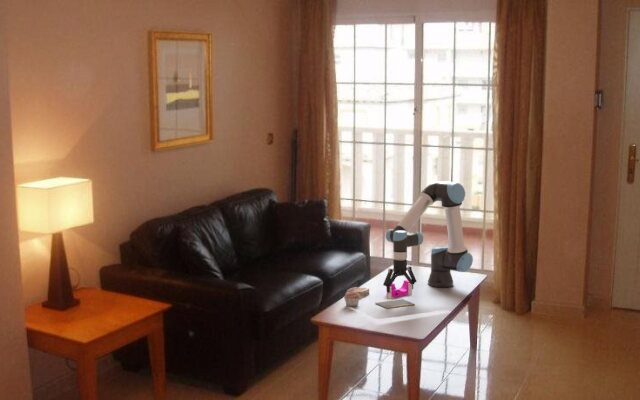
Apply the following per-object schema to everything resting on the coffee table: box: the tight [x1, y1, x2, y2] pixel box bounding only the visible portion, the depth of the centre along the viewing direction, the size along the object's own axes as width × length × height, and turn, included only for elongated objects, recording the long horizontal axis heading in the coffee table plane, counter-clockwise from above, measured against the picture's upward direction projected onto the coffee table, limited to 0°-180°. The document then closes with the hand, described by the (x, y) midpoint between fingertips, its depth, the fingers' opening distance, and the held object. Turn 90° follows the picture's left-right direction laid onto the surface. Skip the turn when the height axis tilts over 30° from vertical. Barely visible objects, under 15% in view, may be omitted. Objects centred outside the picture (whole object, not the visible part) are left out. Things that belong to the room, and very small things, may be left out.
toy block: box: [386, 279, 410, 299], centre depth 452 cm, size 15×6×8 cm, turn 125°
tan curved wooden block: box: [346, 286, 370, 299], centre depth 450 cm, size 4×10×9 cm
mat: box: [374, 298, 415, 310], centre depth 430 cm, size 18×12×1 cm, turn 117°
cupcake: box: [343, 287, 361, 308], centre depth 428 cm, size 9×9×10 cm
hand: (400, 296), depth 431 cm, fingers open, 13 cm apart
